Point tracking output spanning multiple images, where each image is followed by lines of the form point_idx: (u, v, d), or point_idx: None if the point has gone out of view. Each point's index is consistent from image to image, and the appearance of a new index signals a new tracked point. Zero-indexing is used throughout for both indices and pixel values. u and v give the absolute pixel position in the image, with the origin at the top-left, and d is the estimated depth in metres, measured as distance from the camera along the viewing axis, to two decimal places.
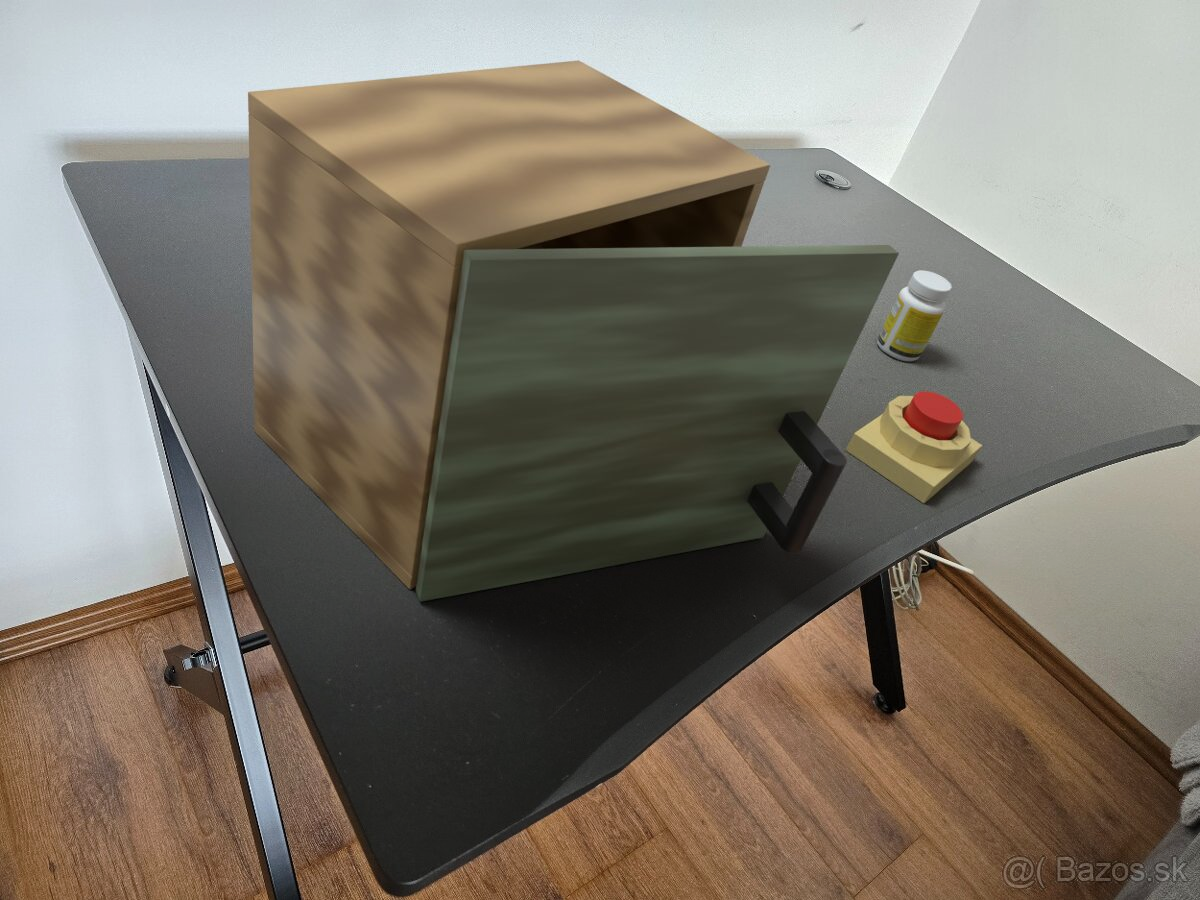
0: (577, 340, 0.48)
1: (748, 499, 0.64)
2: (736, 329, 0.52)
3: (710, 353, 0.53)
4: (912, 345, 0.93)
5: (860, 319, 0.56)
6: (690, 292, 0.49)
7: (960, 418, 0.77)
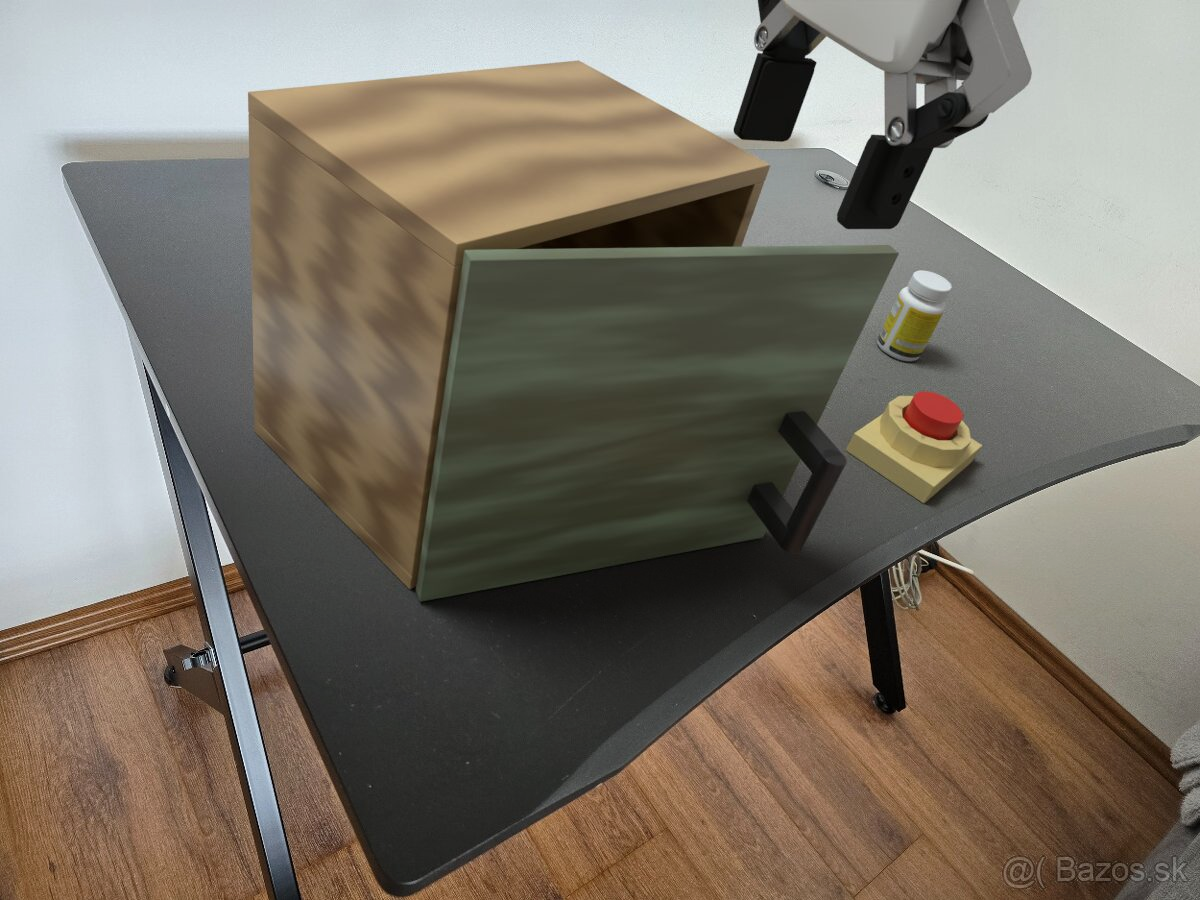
0: (577, 340, 0.48)
1: (748, 499, 0.64)
2: (736, 329, 0.52)
3: (710, 353, 0.53)
4: (912, 345, 0.93)
5: (860, 319, 0.56)
6: (690, 292, 0.49)
7: (960, 418, 0.77)
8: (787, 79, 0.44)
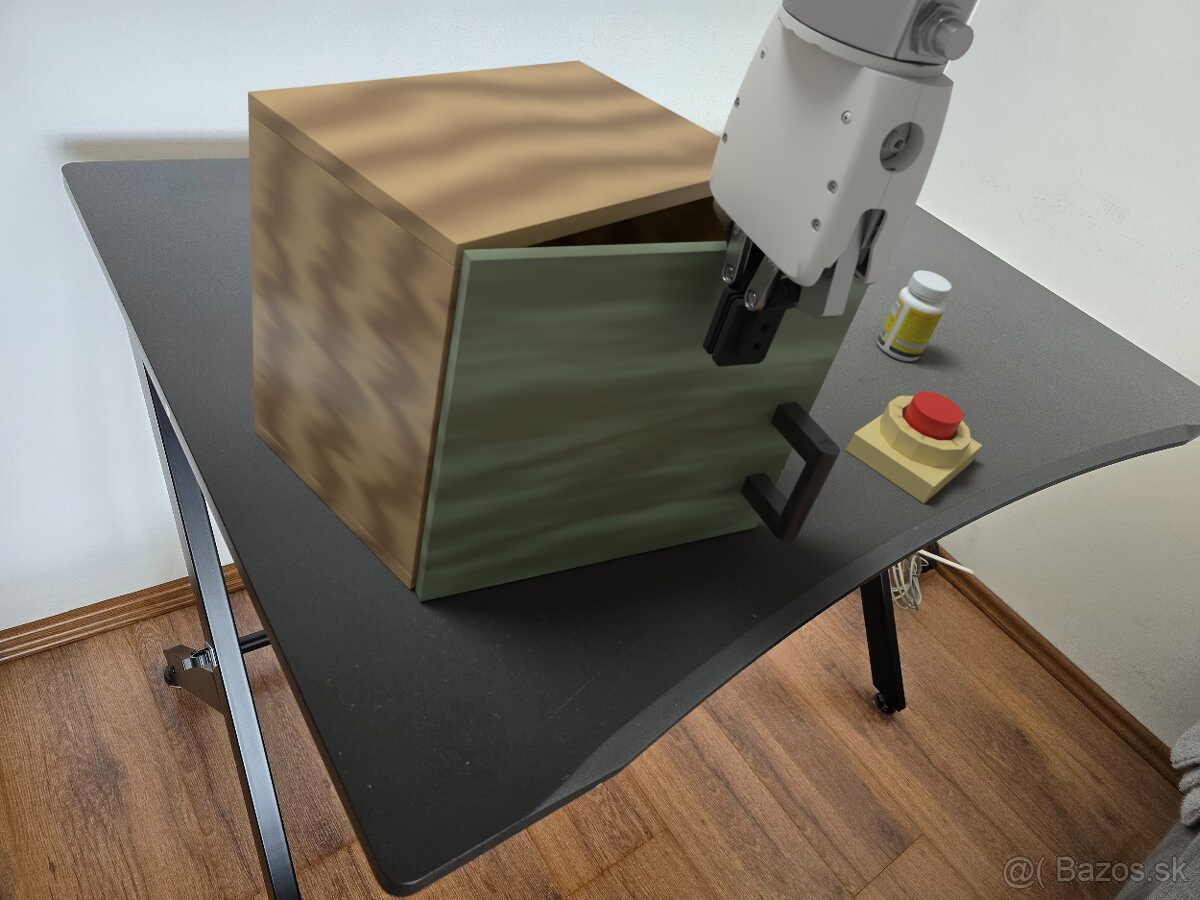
0: (575, 337, 0.48)
1: (741, 490, 0.65)
2: None
3: None
4: (912, 345, 0.93)
5: (850, 310, 0.57)
6: (686, 287, 0.49)
7: (960, 418, 0.77)
8: None
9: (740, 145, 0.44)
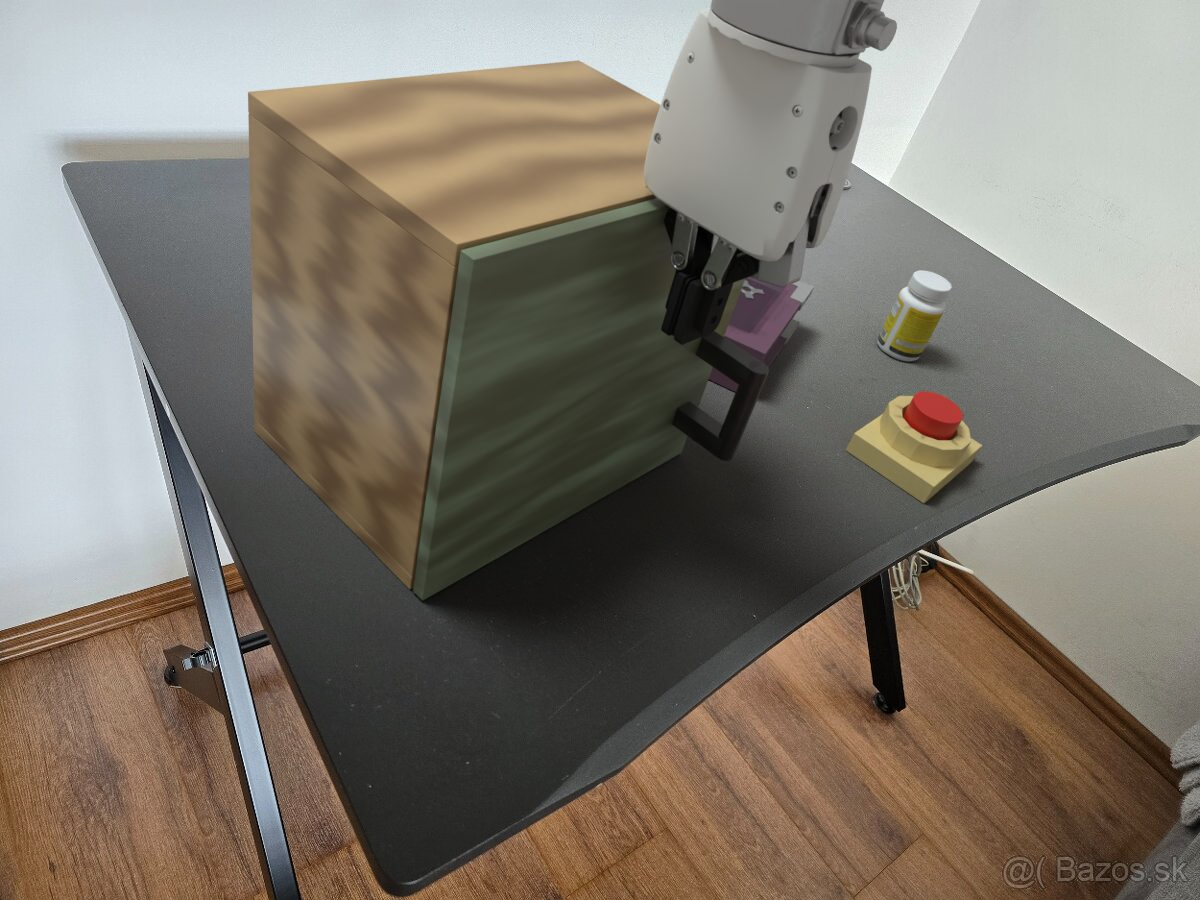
0: (554, 314, 0.49)
1: (673, 422, 0.69)
2: (670, 271, 0.56)
3: (651, 298, 0.56)
4: (912, 345, 0.93)
5: None
6: (639, 246, 0.51)
7: (960, 418, 0.77)
8: None
9: (679, 143, 0.47)
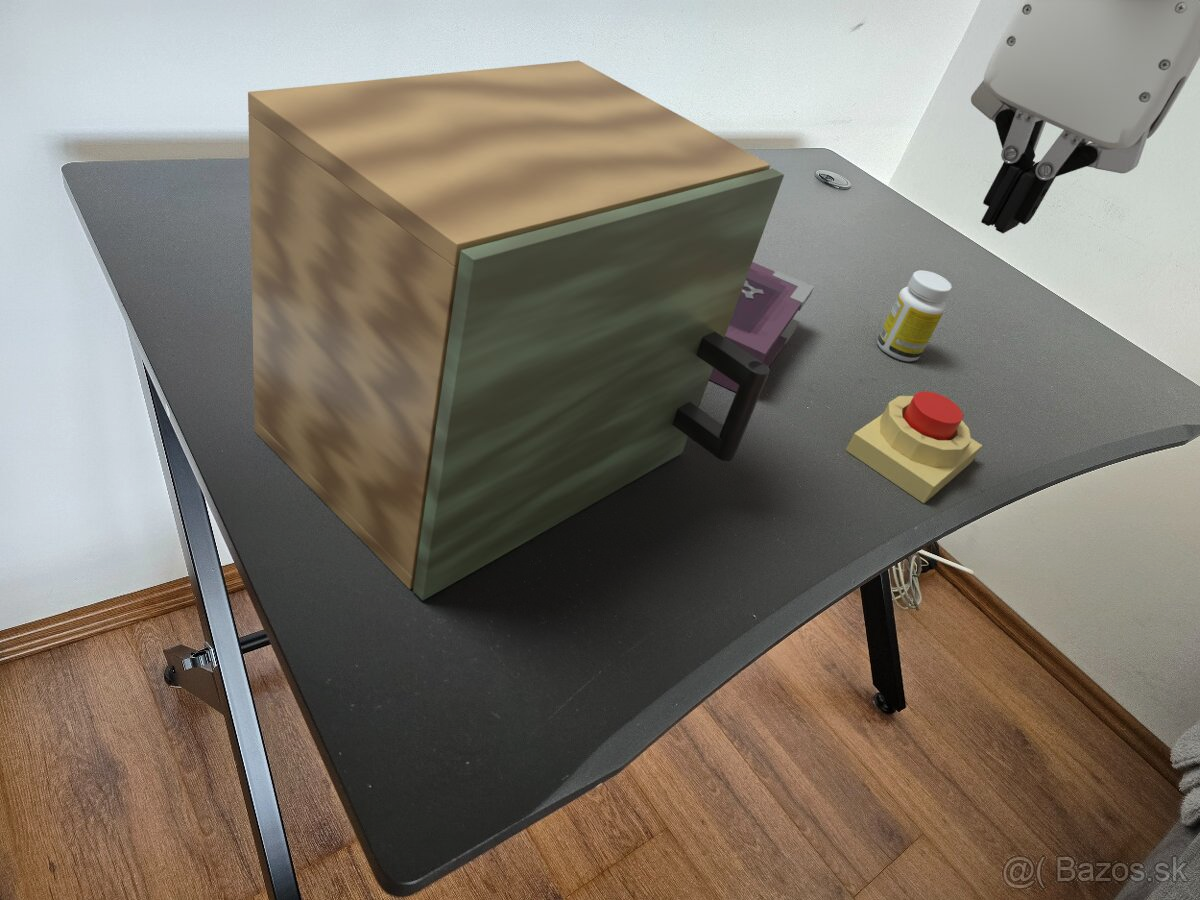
0: (554, 314, 0.49)
1: (673, 422, 0.69)
2: (671, 272, 0.56)
3: (651, 298, 0.56)
4: (912, 345, 0.93)
5: (756, 239, 0.62)
6: (639, 247, 0.51)
7: (960, 418, 0.77)
8: None
9: (1038, 44, 0.53)
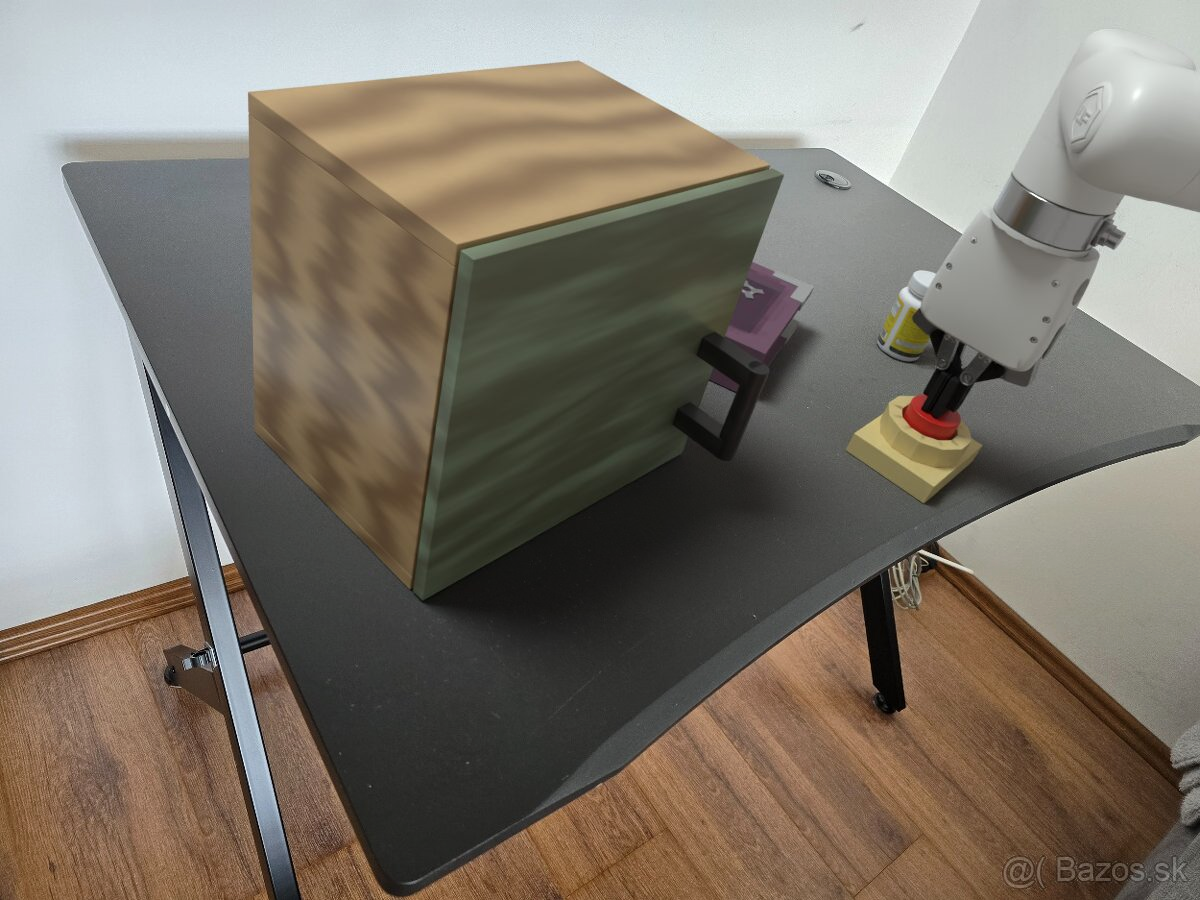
0: (554, 314, 0.49)
1: (673, 422, 0.69)
2: (671, 272, 0.56)
3: (651, 298, 0.56)
4: (912, 345, 0.93)
5: (756, 239, 0.62)
6: (639, 247, 0.51)
7: (958, 421, 0.77)
8: None
9: (957, 292, 0.71)
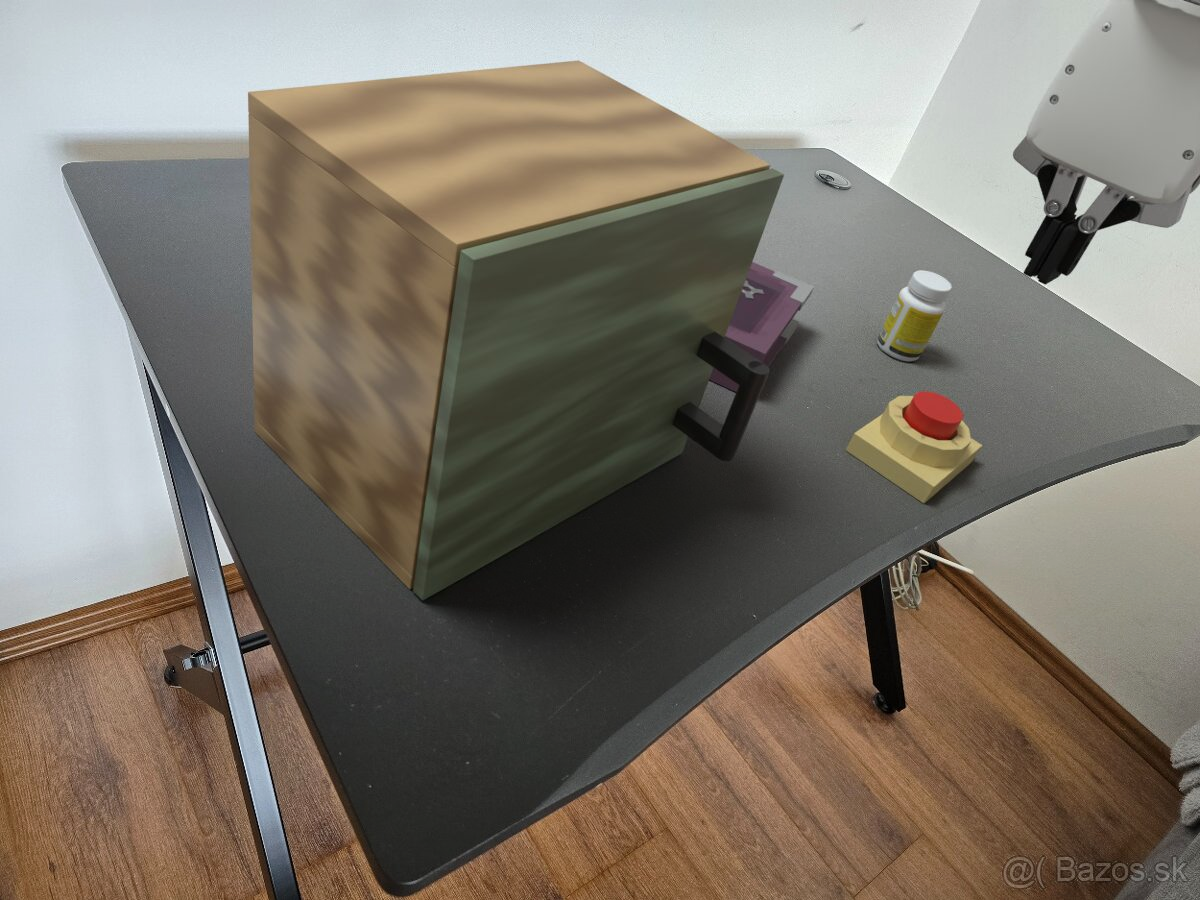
0: (554, 314, 0.49)
1: (673, 422, 0.69)
2: (671, 272, 0.56)
3: (651, 298, 0.56)
4: (912, 345, 0.93)
5: (756, 239, 0.62)
6: (639, 247, 0.51)
7: (960, 418, 0.77)
8: None
9: (1081, 103, 0.55)
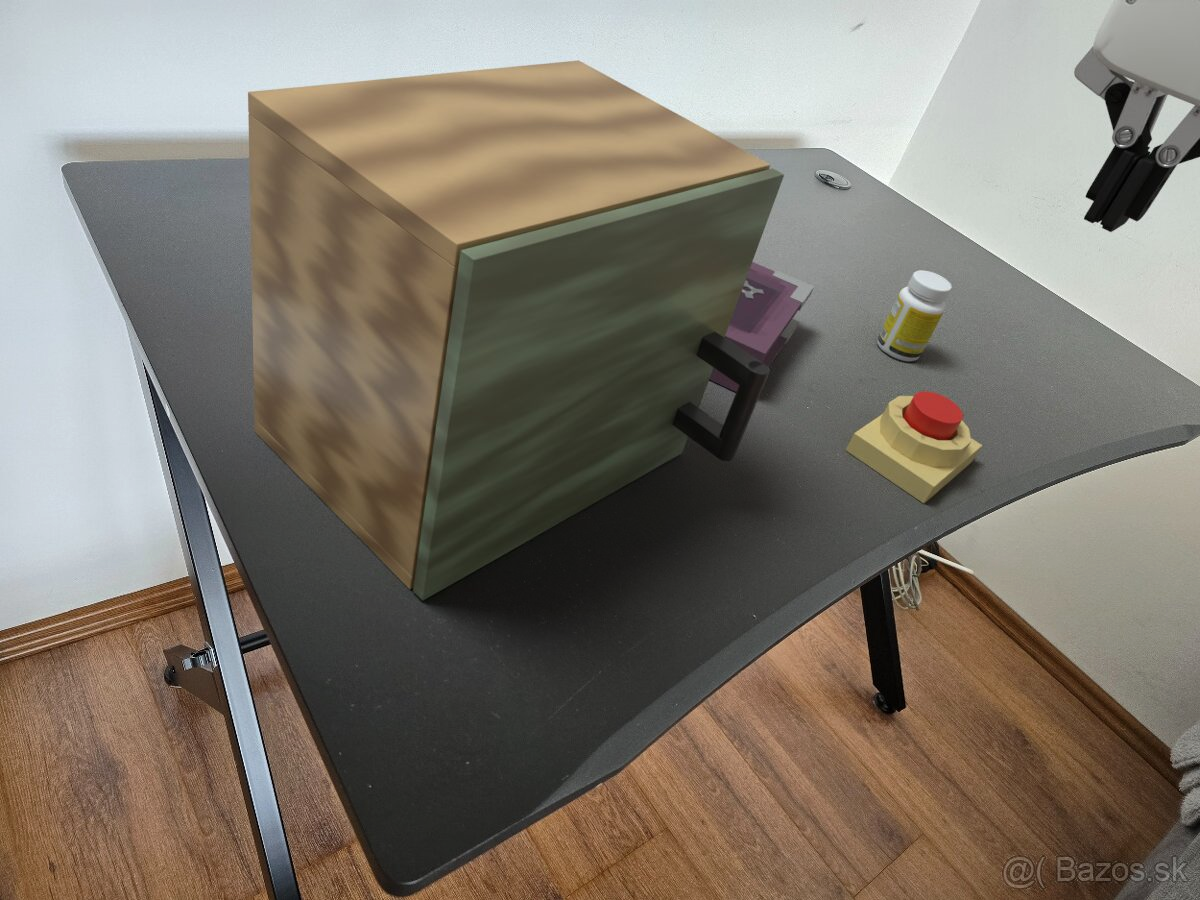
0: (554, 314, 0.49)
1: (673, 422, 0.69)
2: (671, 272, 0.56)
3: (651, 298, 0.56)
4: (912, 345, 0.93)
5: (756, 239, 0.62)
6: (639, 247, 0.51)
7: (960, 418, 0.77)
8: None
9: (1167, 0, 0.44)
